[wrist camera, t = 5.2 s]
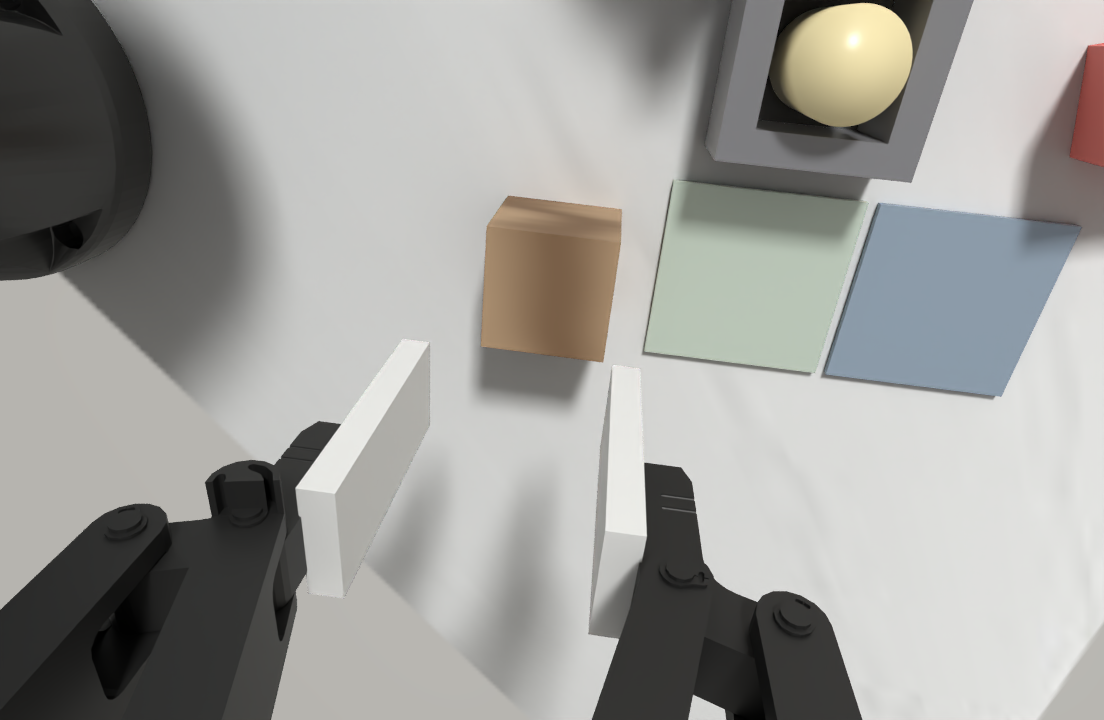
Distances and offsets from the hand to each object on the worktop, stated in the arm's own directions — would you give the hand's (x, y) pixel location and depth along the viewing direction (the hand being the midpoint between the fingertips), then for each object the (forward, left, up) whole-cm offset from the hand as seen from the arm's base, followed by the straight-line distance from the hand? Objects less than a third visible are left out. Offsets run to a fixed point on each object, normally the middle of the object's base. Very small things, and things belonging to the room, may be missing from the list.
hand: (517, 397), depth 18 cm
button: (+9, +9, -12) cm, 17 cm away
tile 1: (+9, 0, -13) cm, 15 cm away
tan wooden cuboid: (0, 0, -13) cm, 13 cm away
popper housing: (+9, +9, -13) cm, 18 cm away
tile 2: (+17, 0, -13) cm, 21 cm away
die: (+21, +9, -13) cm, 26 cm away
